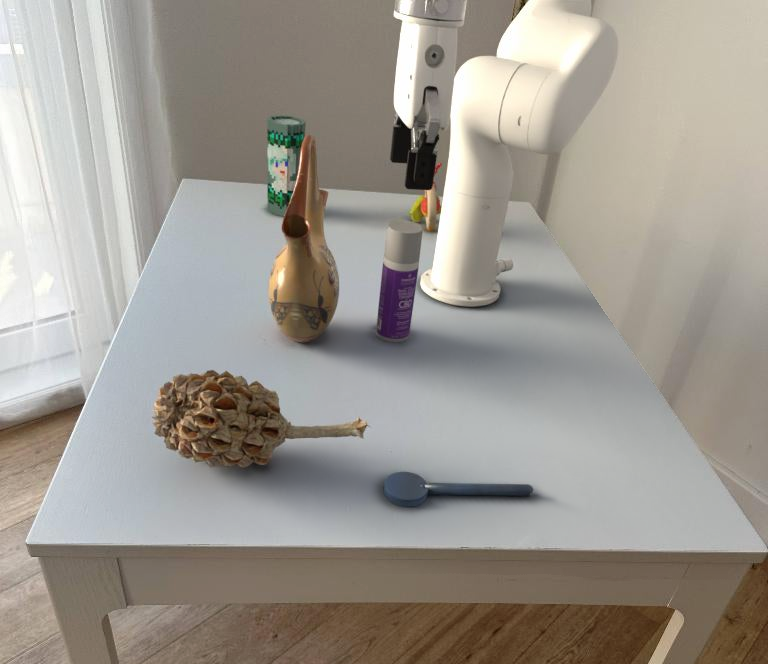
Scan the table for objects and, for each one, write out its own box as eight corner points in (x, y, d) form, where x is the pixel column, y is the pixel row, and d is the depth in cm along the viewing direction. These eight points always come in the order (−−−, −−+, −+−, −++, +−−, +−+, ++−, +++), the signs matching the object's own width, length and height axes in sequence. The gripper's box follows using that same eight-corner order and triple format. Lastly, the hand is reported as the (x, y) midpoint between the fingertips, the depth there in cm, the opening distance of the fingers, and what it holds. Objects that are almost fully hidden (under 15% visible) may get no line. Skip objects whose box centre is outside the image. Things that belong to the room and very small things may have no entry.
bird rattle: (445, 242, 136) (438, 206, 139) (459, 193, 126) (452, 156, 129) (412, 241, 135) (406, 204, 138) (424, 192, 125) (417, 154, 128)
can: (264, 213, 132) (263, 121, 122) (273, 202, 136) (274, 113, 126) (297, 218, 131) (299, 127, 122) (305, 207, 136) (308, 118, 126)
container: (398, 345, 100) (412, 236, 90) (369, 334, 101) (379, 226, 92) (415, 333, 103) (430, 226, 93) (387, 322, 105) (399, 216, 95)
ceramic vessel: (326, 369, 93) (338, 161, 77) (256, 359, 93) (253, 149, 77) (343, 312, 106) (357, 122, 89) (282, 303, 106) (284, 112, 89)
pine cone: (152, 489, 73) (141, 405, 66) (161, 433, 80) (151, 351, 73) (371, 487, 77) (381, 407, 70) (361, 433, 84) (369, 356, 77)
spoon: (385, 506, 74) (386, 497, 74) (381, 478, 78) (382, 469, 77) (536, 508, 77) (539, 499, 76) (526, 480, 80) (528, 472, 79)
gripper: (486, 21, 71) (456, 202, 83) (446, -4, 84) (425, 155, 95) (411, 14, 70) (391, 198, 81) (382, -11, 83) (368, 151, 94)
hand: (410, 175), depth 88 cm, fingers open, 9 cm apart
